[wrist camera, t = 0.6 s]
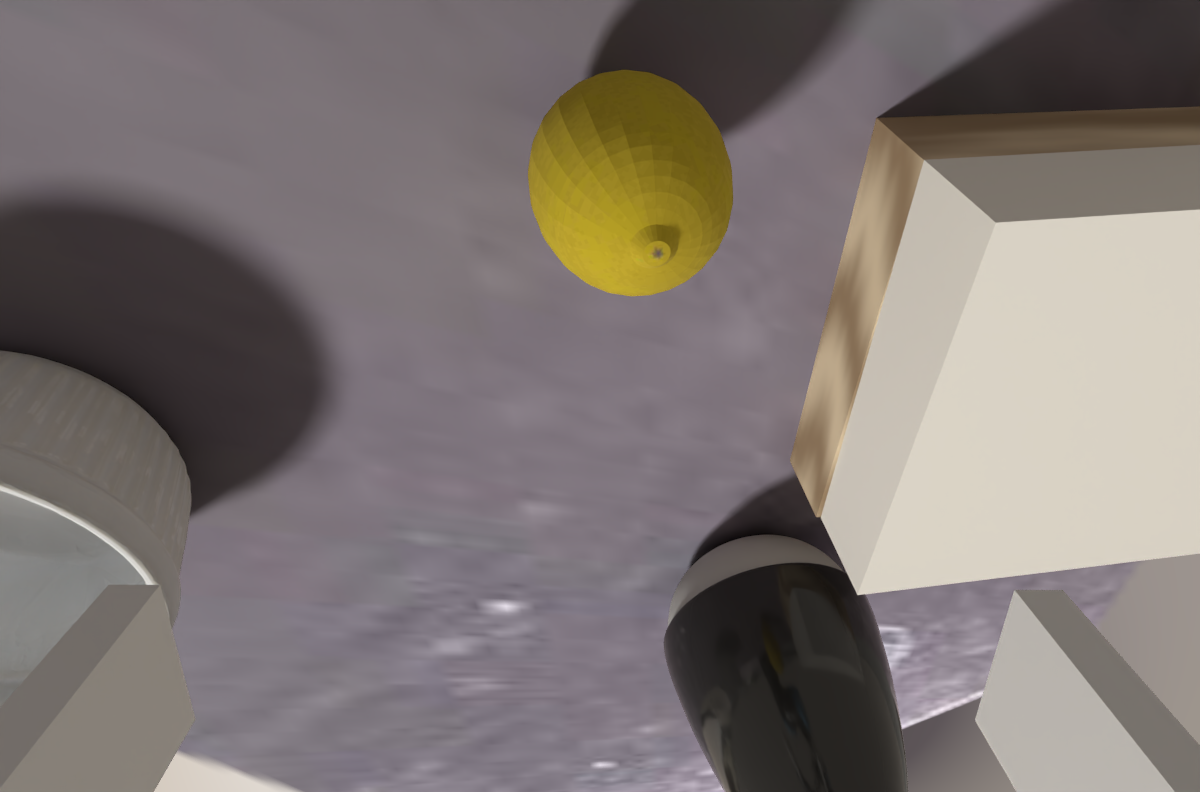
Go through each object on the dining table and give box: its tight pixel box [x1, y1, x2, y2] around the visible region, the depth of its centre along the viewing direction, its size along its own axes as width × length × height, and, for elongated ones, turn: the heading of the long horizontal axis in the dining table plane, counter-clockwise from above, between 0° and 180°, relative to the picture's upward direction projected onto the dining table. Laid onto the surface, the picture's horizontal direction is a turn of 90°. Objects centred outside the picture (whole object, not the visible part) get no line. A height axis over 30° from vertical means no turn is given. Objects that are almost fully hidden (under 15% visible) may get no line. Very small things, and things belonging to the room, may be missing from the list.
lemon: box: [528, 70, 733, 296], centre depth 21 cm, size 6×6×8 cm
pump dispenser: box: [664, 535, 908, 792], centre depth 35 cm, size 10×10×15 cm
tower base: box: [790, 107, 1200, 517], centre depth 31 cm, size 16×16×4 cm
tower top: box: [821, 145, 1200, 595], centre depth 27 cm, size 16×16×4 cm
